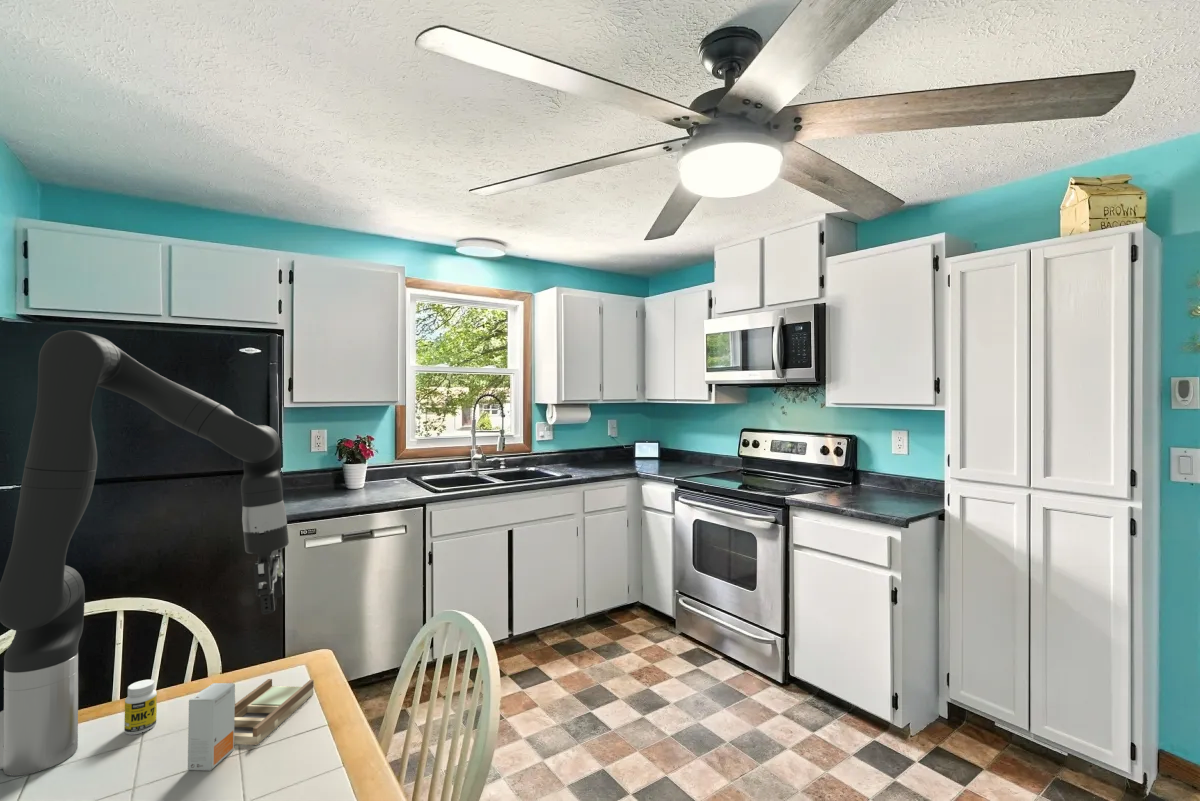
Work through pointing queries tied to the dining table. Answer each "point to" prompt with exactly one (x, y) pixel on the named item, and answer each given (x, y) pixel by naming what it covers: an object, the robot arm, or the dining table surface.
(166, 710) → the dining table surface
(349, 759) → the dining table surface
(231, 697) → the skincare box
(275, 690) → the board
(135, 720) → the supplement bottle
